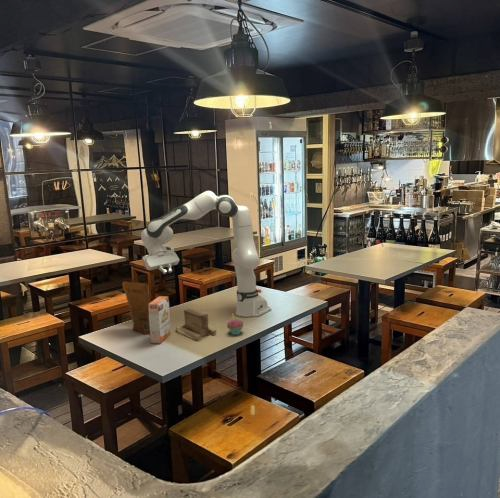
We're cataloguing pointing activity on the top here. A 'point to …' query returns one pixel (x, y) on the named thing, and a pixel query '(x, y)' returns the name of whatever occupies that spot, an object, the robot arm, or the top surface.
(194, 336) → the chute
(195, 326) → the block
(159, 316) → the cracker box
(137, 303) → the pancake mix bag
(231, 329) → the cupcake
